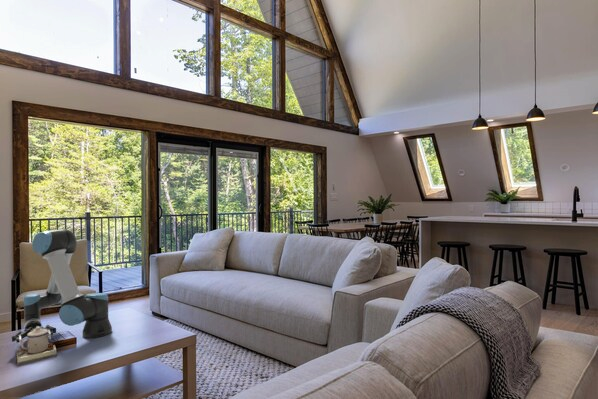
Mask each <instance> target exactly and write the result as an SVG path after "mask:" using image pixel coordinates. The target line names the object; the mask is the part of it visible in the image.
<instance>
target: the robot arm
mask: <svg viewBox="0 0 598 399" xmlns="http://www.w3.org/2000/svg"><path fill="white" fill-rule="evenodd" d="M31 242H32V243H31V246H32V249H33V251H34V253H36V254H39V255H41V258H42V259H43V260H44V259H45V260H46V261H47V263H48V266H49V269H50V272H51V274H50V277H49V282H48V286H47V289H46V292H45V293H44V294H41V295H40V294H39V293H30V294H26V295H25V296H24V297H23V312H24V314H23V315H24V316H23V319H24V320H23V326H24V330H20V329H18V330H17V332H16V333H14V334H13V335H12V336H11V342H12V343H13V342H15V341H16V343H18V344H19V346H21V343H22V340H23V339H26V337H27V334H28V333H29V332H31V331H33V330H35V328H36V327H40V329H46V330H48V340H51V339H52V336H53V335H54V334H56V333H57V328H56V327H53V326H51V325H49V324H46V325H45V326H43V325H42V322H41V310H42V309H45V308H47V307H51V306H54V305H57V304H59V303H60V307H61V308H60V309H59V313H58V316H59V319H60V321H61V322H62V323H63V324H64V325H67V326H70V327H71V326H72V327H73V326H76V325H80V324H82V323H83V322H84V326H83V328H82V337H84V338H86V339H94V338H95V339H96V338H101V337H104V336H107V335H110V334H111V333H112V332H113V326H112V324H111V321H110V319H109V295H108V294H107V293H104V292H95V293H94V292H93V293H86V294H83V293H81V292H80V290H79V288H78V285H77V282H76V280H75V278H74V275H73V272H72V269H71V267H70V264H71V260H72V257H73V254H75V253H76V250H77V247H78V246H77V245H78V244H77V243H78V242H77V237H76V234H74V232H72V231H71V230H69V229H65V228H61V229H60V228H59V229H51V230H45V231H41V232H38V233H36V234H35V235H34V237H33V239H32V241H31ZM27 338H28V337H27Z"/></svg>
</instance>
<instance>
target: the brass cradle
mask: <svg viewBox="0 0 598 399" xmlns="http://www.w3.org/2000/svg"><path fill="white" fill-rule="evenodd" d="M54 354H57V355H58V353H57V348H56V345H55V344H54V345H53V350H51V351H46V352H42V353H37V354H33V355H28V356H24V357H20V356H19V353H17V355H16V361H17V360H18V363H19V362H23V361H28V360H32V359H36V358H41V357H45V356H49V355H54Z"/></svg>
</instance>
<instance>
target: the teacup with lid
mask: <svg viewBox="0 0 598 399" xmlns="http://www.w3.org/2000/svg"><path fill="white" fill-rule="evenodd" d="M26 342H27V346H26V347H27V348H25V346H24V344H25V343H26ZM48 343H49V337H48V330H46V329H40V327H36V328H35V330H33V331H31V332H29V333H28V334H27V338H24V340H21V345H20V346H21V348H23V349H28V352H29V353H39V352H42V351H45V350H47V349H48Z"/></svg>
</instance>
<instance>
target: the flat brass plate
mask: <svg viewBox="0 0 598 399" xmlns="http://www.w3.org/2000/svg"><path fill="white" fill-rule="evenodd" d="M24 347H25V346H24ZM27 347H28V346H26V347H25V348H27ZM15 350H16V356H17V353H19V356H20V357H24V356H28V355H33V354H37V353H29V352H28V349H23V348H22V347H21V348H16V349H15ZM51 350H53V347H51V348H48V349H47V350H45V351H42V352H46V351H51ZM42 352H39V353H42ZM57 356H58V353H57V354H54V355H49V356H45V357H41V358H36V359H32V360H28V361H23V362H19V363H18V360H17V359H16V365H17V366H19V365H23V364H28V363H32V362H36V361H40V360H45V359H49V358H53V357H57Z"/></svg>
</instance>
